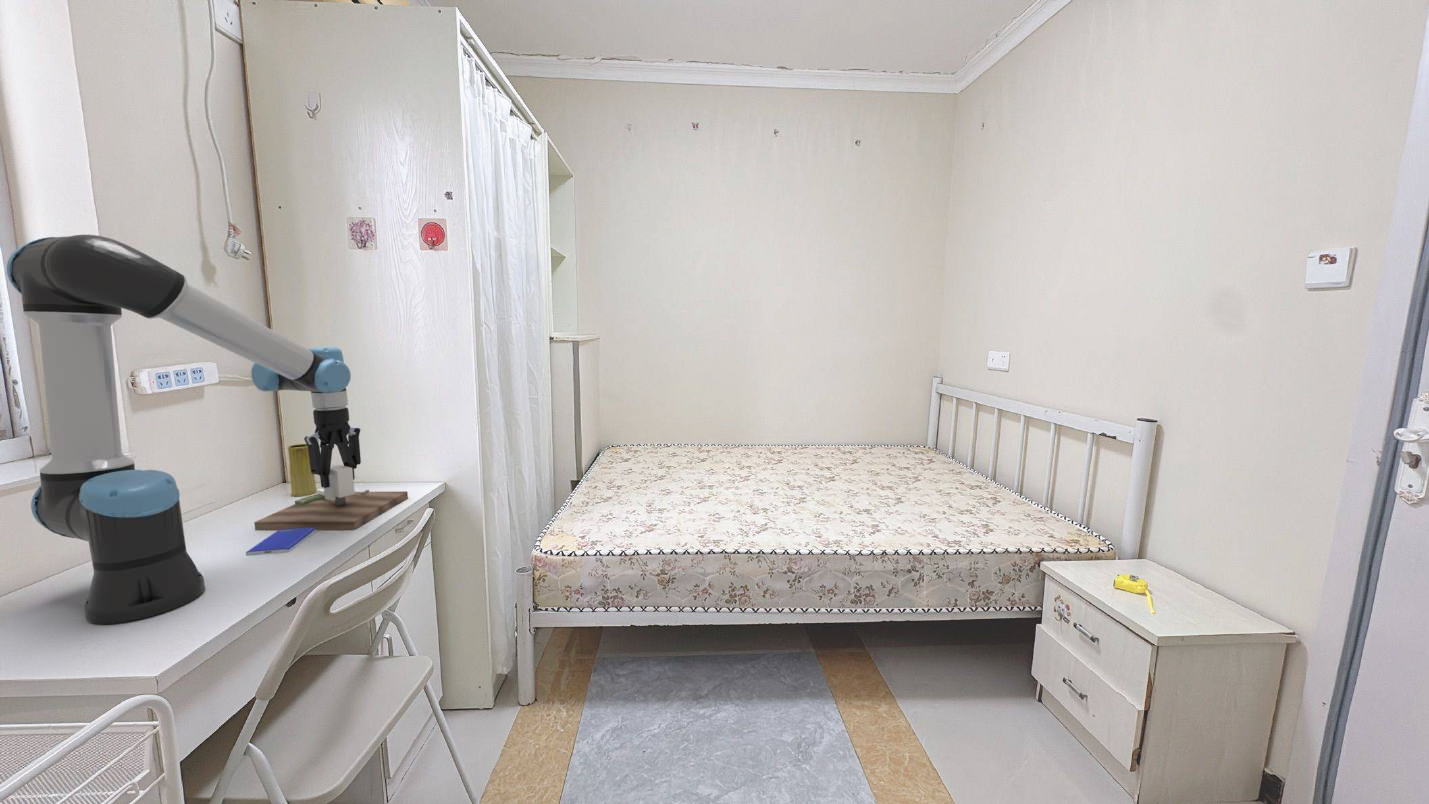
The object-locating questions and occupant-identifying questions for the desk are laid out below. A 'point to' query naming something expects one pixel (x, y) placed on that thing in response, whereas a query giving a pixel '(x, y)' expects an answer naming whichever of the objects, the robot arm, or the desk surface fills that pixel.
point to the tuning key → (341, 483)
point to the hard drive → (281, 541)
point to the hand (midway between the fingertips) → (339, 495)
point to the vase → (301, 471)
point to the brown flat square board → (332, 512)
